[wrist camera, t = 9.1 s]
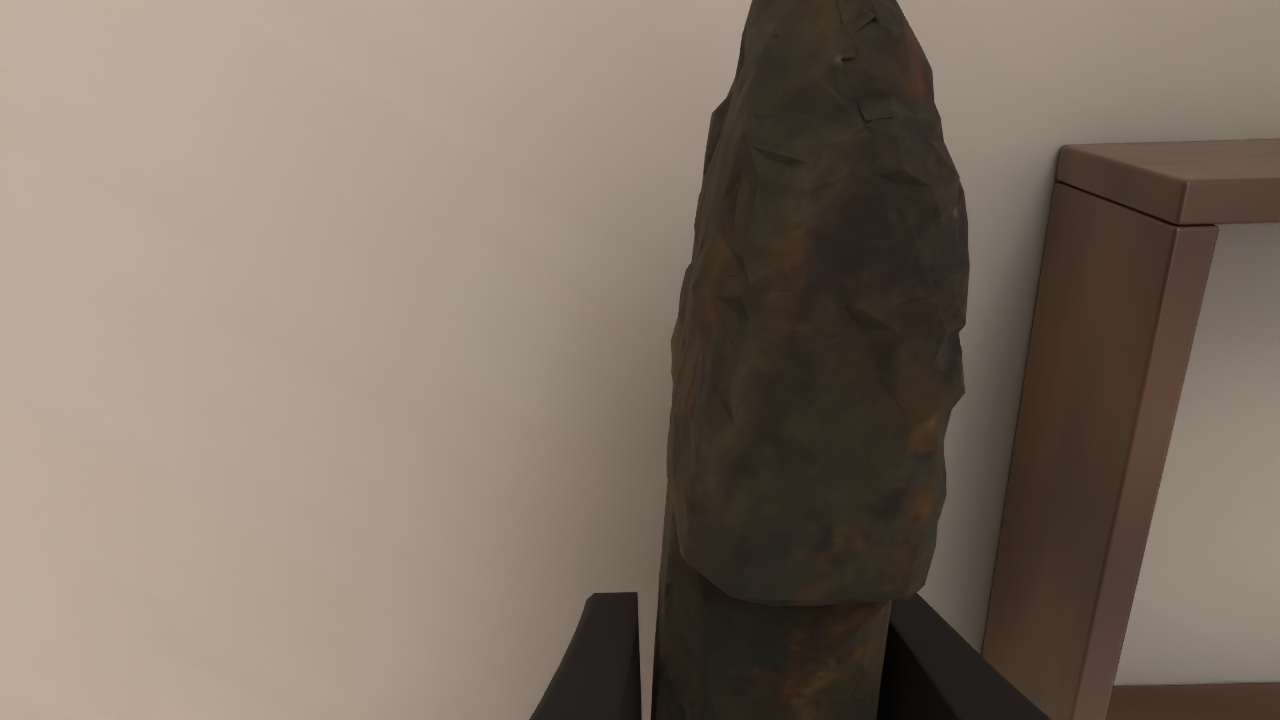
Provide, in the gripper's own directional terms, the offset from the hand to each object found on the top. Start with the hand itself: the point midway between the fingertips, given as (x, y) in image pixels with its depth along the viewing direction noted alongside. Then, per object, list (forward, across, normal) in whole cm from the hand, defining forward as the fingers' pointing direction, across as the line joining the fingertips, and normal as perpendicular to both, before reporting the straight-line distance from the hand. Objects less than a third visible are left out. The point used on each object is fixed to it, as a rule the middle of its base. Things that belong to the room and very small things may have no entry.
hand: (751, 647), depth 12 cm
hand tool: (+2, 0, 0) cm, 2 cm away
